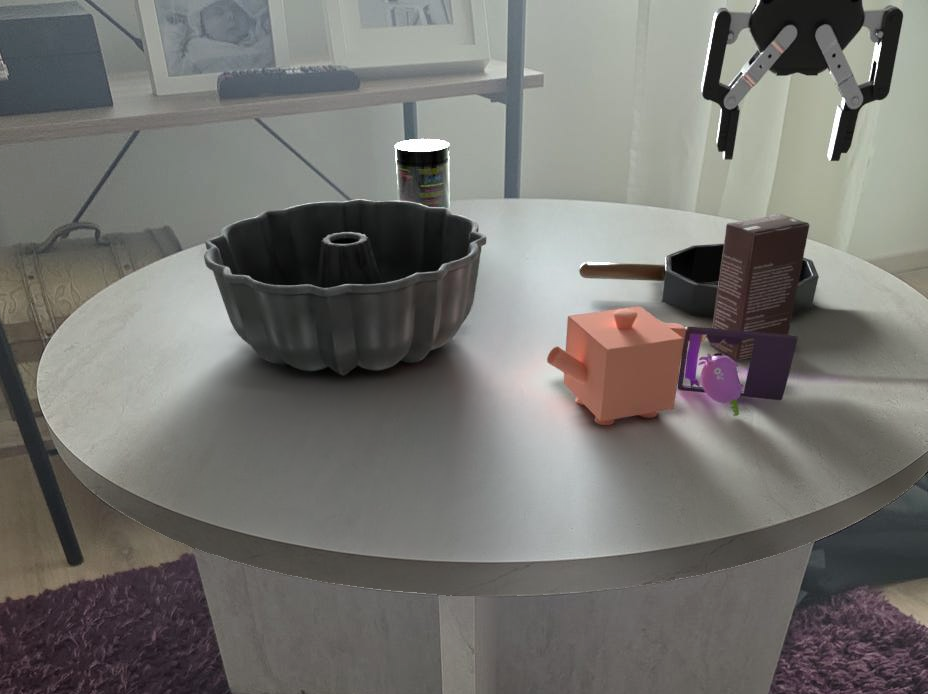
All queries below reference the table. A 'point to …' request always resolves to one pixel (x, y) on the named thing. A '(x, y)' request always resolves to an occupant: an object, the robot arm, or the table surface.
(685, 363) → the purple frame figurine
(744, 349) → the box
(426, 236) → the bundt pan
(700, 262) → the frying pan
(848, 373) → the table surface
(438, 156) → the supplement container
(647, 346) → the pink cube teapot
